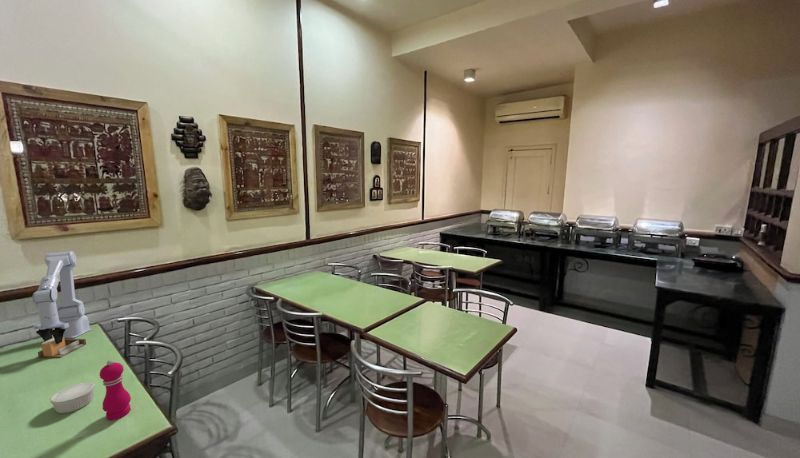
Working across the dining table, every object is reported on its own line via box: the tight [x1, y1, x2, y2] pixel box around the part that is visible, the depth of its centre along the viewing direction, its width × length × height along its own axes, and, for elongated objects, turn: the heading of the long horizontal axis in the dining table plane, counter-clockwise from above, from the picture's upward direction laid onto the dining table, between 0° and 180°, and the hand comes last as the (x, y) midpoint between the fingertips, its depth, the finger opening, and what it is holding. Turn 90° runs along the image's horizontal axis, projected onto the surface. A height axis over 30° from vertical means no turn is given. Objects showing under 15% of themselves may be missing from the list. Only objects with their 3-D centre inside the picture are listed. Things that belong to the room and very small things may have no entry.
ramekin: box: [49, 381, 96, 414], centre depth 114 cm, size 11×11×5 cm
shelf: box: [37, 338, 87, 359], centre depth 151 cm, size 12×10×3 cm
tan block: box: [41, 337, 65, 356], centre depth 148 cm, size 6×4×6 cm
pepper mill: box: [99, 359, 132, 421], centre depth 108 cm, size 7×7×20 cm
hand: (54, 342), depth 148 cm, fingers closed on tan block, 4 cm apart
